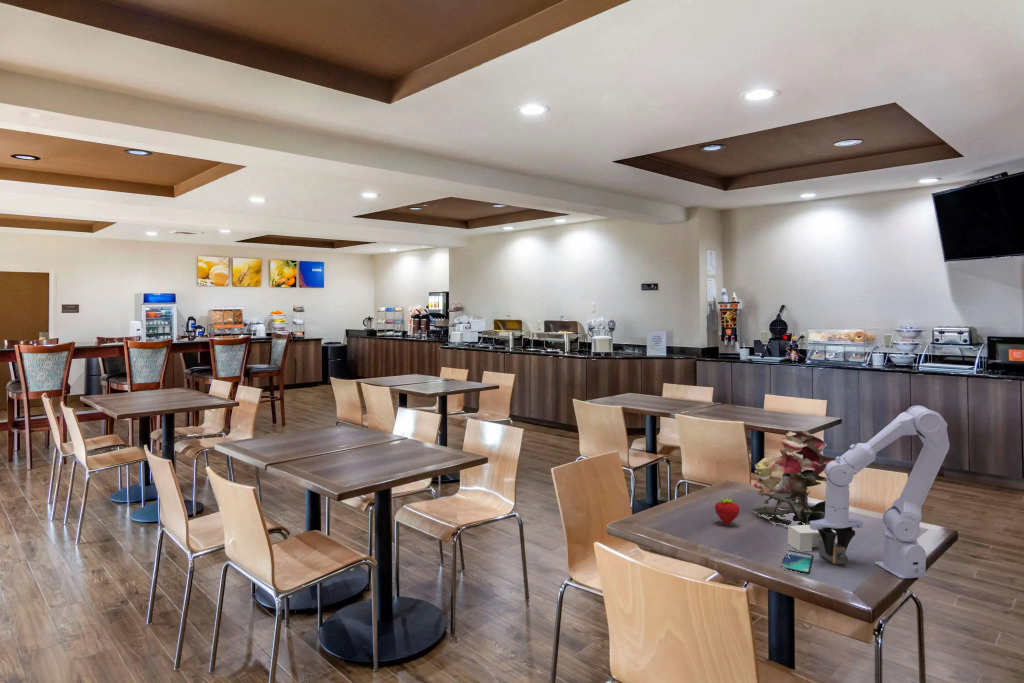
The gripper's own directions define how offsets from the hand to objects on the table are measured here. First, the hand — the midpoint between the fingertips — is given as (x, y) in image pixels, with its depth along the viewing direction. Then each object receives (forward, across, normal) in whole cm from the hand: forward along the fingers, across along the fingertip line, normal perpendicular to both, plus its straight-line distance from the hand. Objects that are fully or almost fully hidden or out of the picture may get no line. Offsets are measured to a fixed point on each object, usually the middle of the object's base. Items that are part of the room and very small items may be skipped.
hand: (835, 554), depth 167 cm
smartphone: (+3, +10, -1) cm, 11 cm away
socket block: (+2, 0, -11) cm, 11 cm away
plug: (+2, 0, -1) cm, 3 cm away
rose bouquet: (+2, -9, -33) cm, 35 cm away
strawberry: (+2, +16, -31) cm, 35 cm away
